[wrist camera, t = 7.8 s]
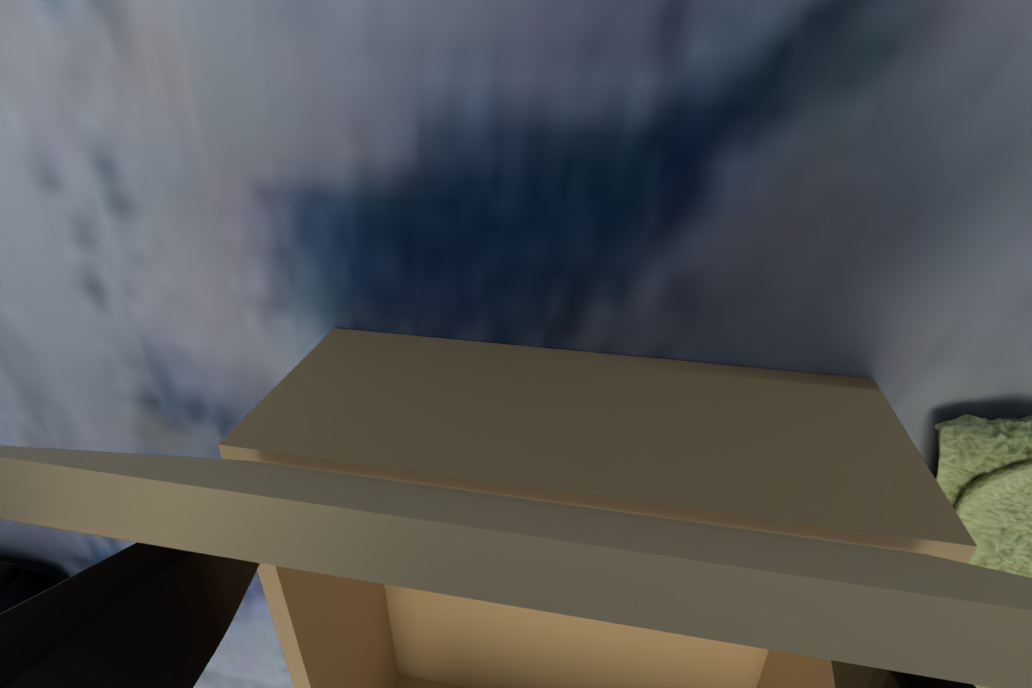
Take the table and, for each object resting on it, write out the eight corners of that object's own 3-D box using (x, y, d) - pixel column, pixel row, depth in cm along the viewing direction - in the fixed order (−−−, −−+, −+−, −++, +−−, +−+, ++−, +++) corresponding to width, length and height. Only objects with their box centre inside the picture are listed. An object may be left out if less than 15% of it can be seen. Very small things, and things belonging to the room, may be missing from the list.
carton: (749, 736, 25) (775, 923, 20) (392, 667, 28) (334, 815, 23) (873, 378, 16) (977, 546, 11) (334, 327, 19) (217, 444, 14)
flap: (1480, 770, 4) (1463, 674, 4) (-150, 494, 6) (-130, 437, 6) (924, 587, 11) (924, 553, 11) (243, 487, 13) (249, 460, 13)
